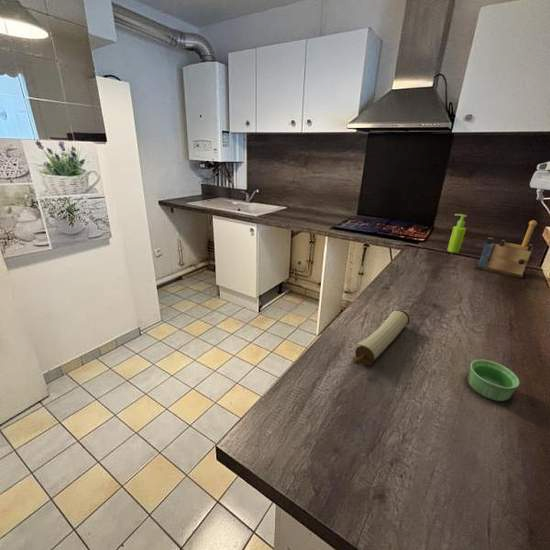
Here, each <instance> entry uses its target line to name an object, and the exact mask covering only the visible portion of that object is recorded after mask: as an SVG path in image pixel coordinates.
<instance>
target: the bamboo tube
mask: <svg viewBox="0 0 550 550" xmlns="http://www.w3.org/2000/svg"><path fill="white" fill-rule="evenodd" d="M410 322H411V319H410V315H409V314H408V313H407V312H406V311H404V310H400V309H399V310H393V311H392V312H391V313H390V314H389V316H388V317H387V318H386V319H385V321H384V322H383V323H382V324H381V325H380V326H379V327H378V328H377V329H376V330H375V331H374V332H372V333H371V334H370V335H369V336H368V337H365V338H364V339H362V340H361V341H359V342H357V345H358V347H356V349H355V351H354V352H355V357H356V358H355V359H354V360H353V362H354V364H355V365H358V364H360V363H361V364H363V365H365V366H370V365H372V364H374V362H375V360H376V359H377V358H378V357H379V356H380V355H381V354H382V353H383V352H384V351H385V350H386V349H387V348H388V347H389V345H390V344H391V343H392V342H393V341H394V340H395V339H396V338H397V337H398V335H400V333H401V332H402V331H403V329H404V328H405V327H406V326H407V325H409V324H410Z"/></svg>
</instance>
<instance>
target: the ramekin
mask: <svg viewBox="0 0 550 550" xmlns="http://www.w3.org/2000/svg"><path fill="white" fill-rule="evenodd" d="M467 381H468V384H469V386H470V387H471V388H472V389H473V390H474V391H475V392H476V393H477V394H479V395H481V396H482V397H485V398H486V399H489V400H493V401H496V402H504V401H508V400H510V398H511V397H512V395H513V394H514V392H515V391H516V389H517V388H519V386H520V383H521V382H520V379H519V377H518V376H517V374H515V373H514V371H512V370H511V369H510V368H507V367H506V366H504V365H502V364H501V363H498V362H495V361H492V360H488V359H475V360H472V361H471V363H470V365H469V373H468V377H467Z"/></svg>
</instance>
